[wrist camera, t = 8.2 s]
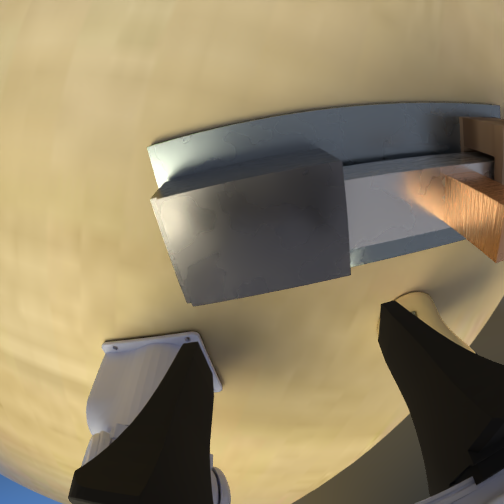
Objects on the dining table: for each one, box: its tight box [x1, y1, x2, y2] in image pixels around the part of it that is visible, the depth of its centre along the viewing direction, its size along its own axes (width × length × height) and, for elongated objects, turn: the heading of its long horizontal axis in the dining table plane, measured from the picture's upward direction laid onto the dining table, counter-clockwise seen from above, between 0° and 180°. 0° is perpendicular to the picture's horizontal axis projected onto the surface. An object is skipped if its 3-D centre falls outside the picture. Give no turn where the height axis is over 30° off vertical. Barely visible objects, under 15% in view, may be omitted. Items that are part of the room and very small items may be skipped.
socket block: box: [459, 117, 504, 185], centre depth 16 cm, size 4×9×5 cm, turn 12°
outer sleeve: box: [147, 102, 500, 306], centre depth 17 cm, size 26×11×5 cm, turn 102°
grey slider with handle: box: [343, 151, 504, 263], centre depth 14 cm, size 16×4×8 cm, turn 102°
